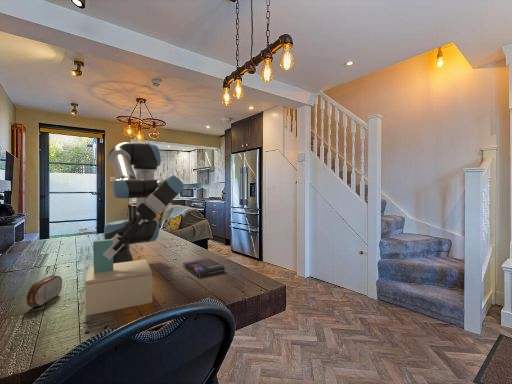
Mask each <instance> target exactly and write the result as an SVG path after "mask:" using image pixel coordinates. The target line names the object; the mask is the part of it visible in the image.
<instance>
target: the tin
mask: <svg viewBox="0 0 512 384" xmlns="http://www.w3.org/2000/svg"><path fill="white" fill-rule="evenodd" d="M62 287H63V278H62V277H61V276H59V275H51V274H50V275H49V276H47V277H44V278H42V279H41V280H38V281H36V282H34V283H33V284H32V285H31V286H30V288H29V289H28V292H27V295H26V303H27V306H28V307H29V308H36V307H37V308H39V306H40V307H42V306H44V305H45V303H46V304H48V303H49V302H50V300H51V301H52V300H54V299H56V298H57V297H58V296H59V294H60V293H61V291H62ZM55 297H56V298H55ZM48 301H49V302H48ZM43 304H44V305H43ZM41 305H42V306H41Z"/></svg>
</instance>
